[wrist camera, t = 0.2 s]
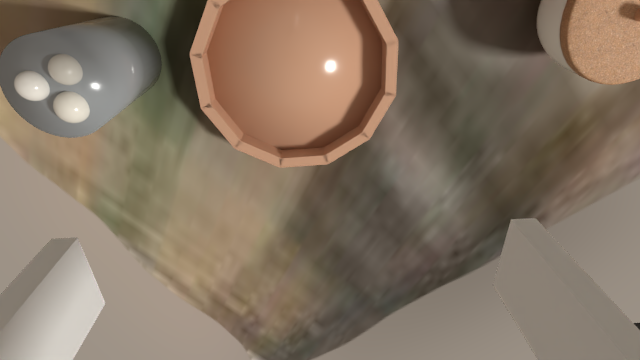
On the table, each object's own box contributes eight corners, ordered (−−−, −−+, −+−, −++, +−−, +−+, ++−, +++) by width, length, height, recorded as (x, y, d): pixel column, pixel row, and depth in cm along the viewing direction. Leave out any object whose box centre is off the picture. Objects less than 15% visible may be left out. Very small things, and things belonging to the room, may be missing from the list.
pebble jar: (69, 18, 33) (-37, 39, 23) (150, 13, 33) (82, 32, 23) (96, 96, 37) (15, 147, 26) (169, 92, 37) (118, 140, 26)
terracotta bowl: (181, -34, 32) (170, -35, 29) (393, -47, 32) (402, -48, 30) (219, 159, 40) (214, 172, 38) (386, 147, 41) (392, 159, 38)
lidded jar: (618, 55, 38) (709, 77, 29) (510, 74, 38) (570, 101, 30) (645, -73, 32) (765, -89, 24) (520, -50, 33) (597, -59, 24)
